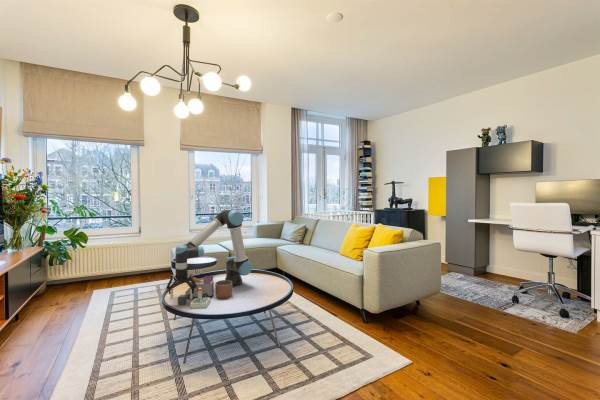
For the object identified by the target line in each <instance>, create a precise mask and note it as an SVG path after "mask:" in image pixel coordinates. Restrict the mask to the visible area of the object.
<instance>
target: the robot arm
mask: <svg viewBox="0 0 600 400" xmlns="http://www.w3.org/2000/svg"><path fill="white" fill-rule="evenodd" d="M243 221H244V215H243V213H242V212H241V211H240V210H235V209H224V210H222V211H221V212H219V213H218V214H217V215H216V216H214V217H213V219H212V220H211V222H210V223H208V224H207V225H206V226H205V227H204V228H203V229H202V230H201V231H200V232H199V233H197V234H196V235H195V236H194V237H193V238H192V239H190V241H188V242H186V243H185V244H181V245H177V246H176V247H175V275H174V274H171V275H170V279H169V281H168V283H167V285H166V287H165V289H166V290H168V294H169V295H170V297H169V298H170V300H172V299H173V298H174V289H173V288H174V287H175V285H176V284H177V283H180V282H181V283H183V282H184V283H185V284H187V286H188V287H189V288H191V289H190V300H192V299H193V298H194V297H193V293H194V288H196V287H197V285H196V284H195V282H194V280H193V274H188V259H196V258H202V257H203V256H204V254H205V250H204V247H203V246H201V245H202V244H203V243H204V242H205V241H206V240H207V239H208V238H210V237H211V236H212V235H213V234H214V233H215V232H216V231H217V230H218V229H220V228H222V227H224V226H225V225H226V228H227V229H228V230H229V233H230V237H231V243H232V249H233V254H234V255H233V256H228V257H227V258H226V260H225V269H226V270H225V271H226V273H225V274H226V275H225V279H224V280H230V281H232V287H238V286H240V285H242V284H243V278H242V276H248V275H249V274H250V273H251V272H252V270H253V265H252V263H251V262H250V261H249V257H248V256H247V255H246V251H245V250H246V249H245V246H244V245H245V243H244V240H243V239H244V238H243V235H242V234H243V233H242V229H241V228H242V226H243ZM174 279H175V280H174ZM173 280H174V282H173ZM189 280H190V281H189ZM172 282H173V283H172ZM190 282H191V283H192V284H191V283H190Z"/></svg>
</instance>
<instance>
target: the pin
mask: <svg viewBox="0 0 600 400" xmlns="http://www.w3.org/2000/svg"><path fill="white" fill-rule="evenodd" d="M202 289H203V287H198V288H197V293H198V297H197V298H198V303H202V297H203V296H202Z"/></svg>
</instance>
